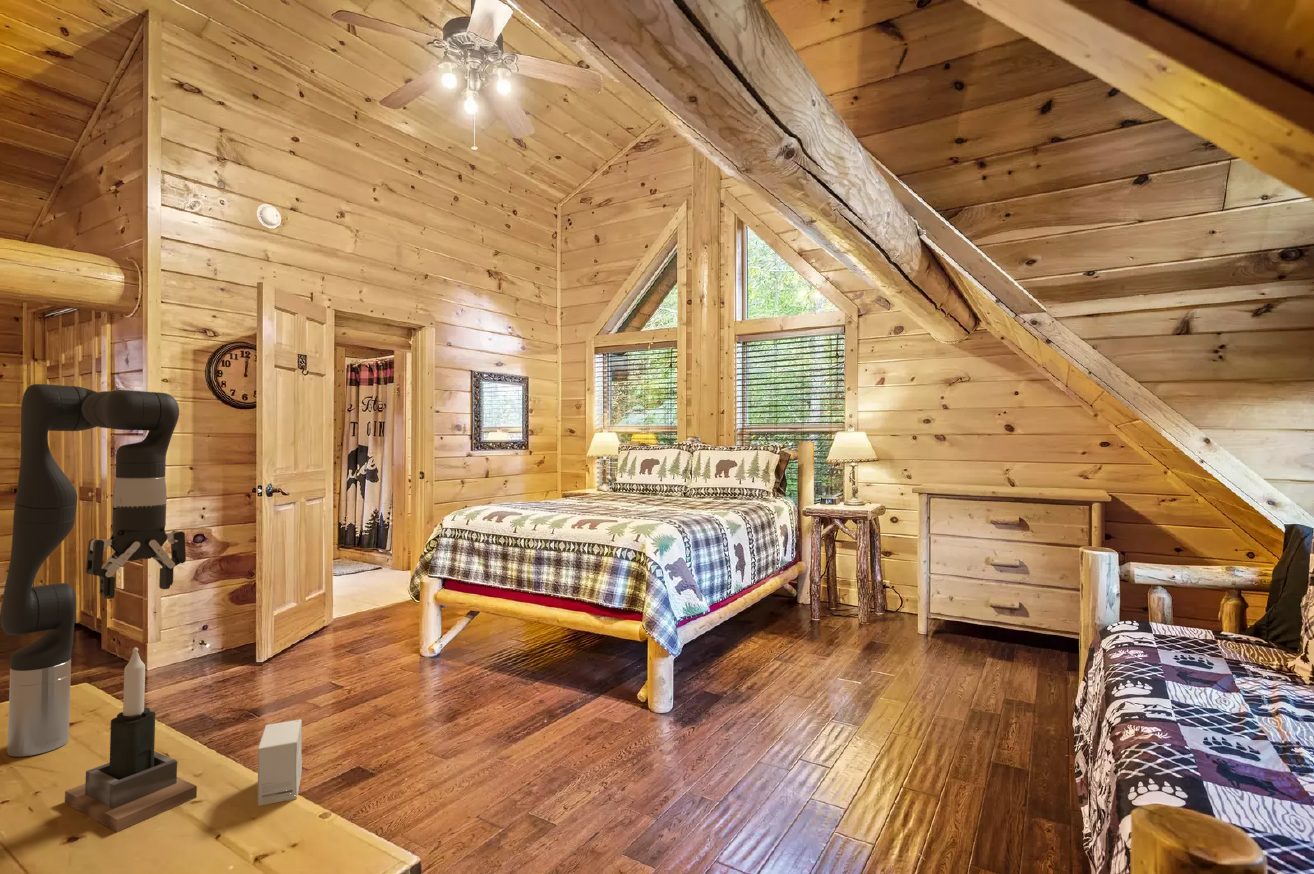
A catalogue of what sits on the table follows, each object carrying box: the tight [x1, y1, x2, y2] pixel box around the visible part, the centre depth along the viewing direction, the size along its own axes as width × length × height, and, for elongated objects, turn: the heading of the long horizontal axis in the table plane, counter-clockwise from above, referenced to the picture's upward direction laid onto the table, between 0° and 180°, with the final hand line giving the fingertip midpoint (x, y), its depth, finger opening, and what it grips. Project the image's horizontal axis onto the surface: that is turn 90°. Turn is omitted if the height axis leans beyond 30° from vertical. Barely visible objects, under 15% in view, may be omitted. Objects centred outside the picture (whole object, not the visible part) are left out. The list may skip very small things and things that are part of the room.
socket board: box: [64, 750, 198, 833], centre depth 116 cm, size 18×12×6 cm, turn 63°
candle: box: [109, 647, 156, 780], centre depth 116 cm, size 5×5×25 cm
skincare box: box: [257, 718, 303, 807], centre depth 121 cm, size 10×6×10 cm, turn 24°
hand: (137, 593), depth 116 cm, fingers open, 8 cm apart
